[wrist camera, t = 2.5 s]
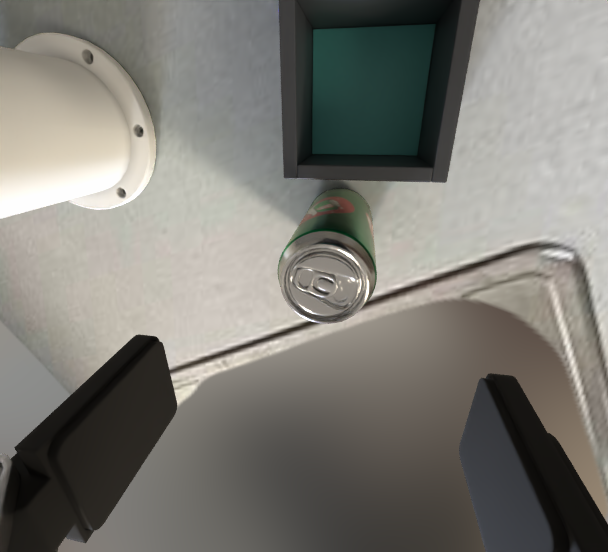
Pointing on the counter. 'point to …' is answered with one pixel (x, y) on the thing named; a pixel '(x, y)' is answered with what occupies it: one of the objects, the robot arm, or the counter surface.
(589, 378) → the counter surface
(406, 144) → the two-compartment grey tray
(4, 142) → the robot arm
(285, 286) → the soda can
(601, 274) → the counter surface
